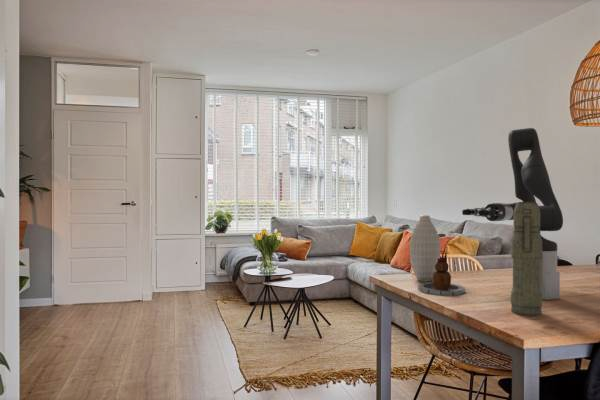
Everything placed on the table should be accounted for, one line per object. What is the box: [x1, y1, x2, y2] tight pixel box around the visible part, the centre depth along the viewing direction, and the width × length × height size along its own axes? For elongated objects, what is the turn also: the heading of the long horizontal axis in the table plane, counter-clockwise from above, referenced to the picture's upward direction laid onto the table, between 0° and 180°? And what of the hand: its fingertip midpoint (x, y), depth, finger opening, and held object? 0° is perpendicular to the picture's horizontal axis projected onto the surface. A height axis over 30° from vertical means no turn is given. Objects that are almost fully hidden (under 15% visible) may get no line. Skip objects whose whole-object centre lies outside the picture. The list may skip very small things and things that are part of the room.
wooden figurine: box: [432, 251, 452, 290], centre depth 184 cm, size 7×6×15 cm
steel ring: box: [417, 282, 466, 296], centre depth 184 cm, size 17×17×2 cm
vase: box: [409, 214, 441, 282], centre depth 207 cm, size 13×13×28 cm
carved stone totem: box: [510, 201, 543, 317], centre depth 150 cm, size 9×12×35 cm
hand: (471, 212), depth 191 cm, fingers open, 8 cm apart
